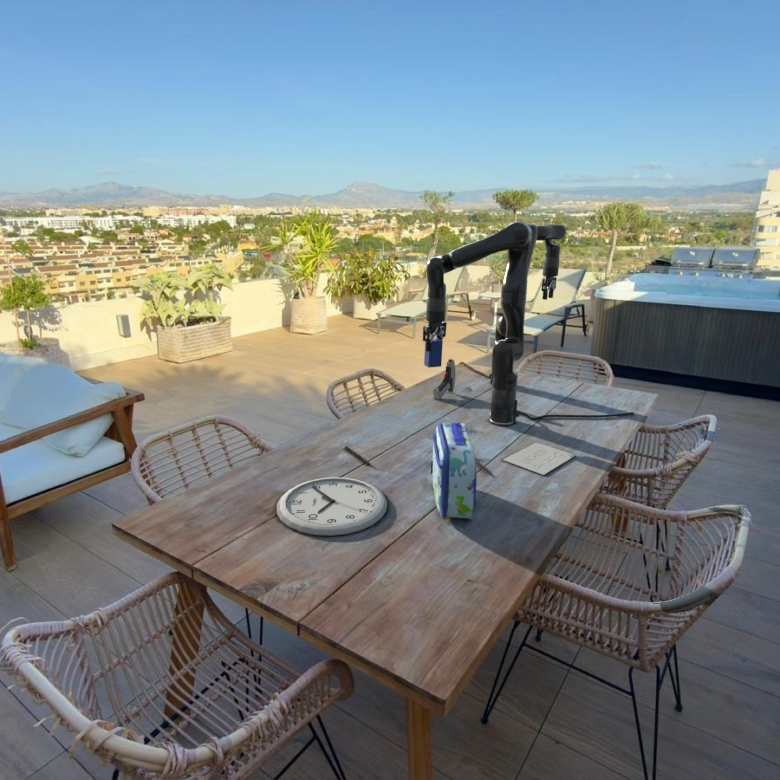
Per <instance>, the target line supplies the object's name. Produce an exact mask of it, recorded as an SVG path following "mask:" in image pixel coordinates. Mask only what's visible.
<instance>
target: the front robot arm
mask: <svg viewBox="0 0 780 780" xmlns="http://www.w3.org/2000/svg"><path fill="white" fill-rule="evenodd" d="M527 224H528V223H526V222H522V221H515V222H512V223H511V222H510V224H508V225H507V226H505V227H504V228H502V229H501V230H499V231H497V232H495V233H493V234H492V235H489V236H487V237H485V238H482V239H479V240H477V241H474V242H473V241H472V242H471V243H468V244H465V245H463V246H460V247H458V248H456V249H454V250H452V251H451V252H447V253H444V254H442V255H438V256H433V257H431V258H430V259H429V260H428V262H427V264H426V279H427V300H426V309H425V321H426V322H427V323H428V324H427V325H424V326H423V328H422V341H423V342H424V343H425V342H426V351H427V352H431V351H432V343H431V342H432V340H433V339H435V338H438V339H440V340H444V338H445V337H446V336H447V324H448V323H447V322H445V321H446V307H447V299H446V297H447V284H446V283H445V274H448V273H450V272H452V271H454V270H457V269H460V268H463V267H466V266H468V265H471V264H473V263H476V262H478V261H481V260H483V259H485V258H486V257H489V256H491V255H494V254H496V253H500V252H504V251H507V262H506V263H507V264H506V267H505V271H504V274H503V278H502V283H501V288H500V290H501V291H500V308H501V311H502V315H503V314H504V317H505V320H506V337H505V339H504V340H500V341H498V342H496V343H495V342H494V345H493V347H492V350H491V373H493V384H492V388H491V399H490V410H489V422H490V423H491V424H494V425H497V426H511V425H513V424H516V423H517V418H519V417H520V415H521V416H524V417H526V418H527V419H528V420H530V421H537V420H540V419H544V418H611V417H612V418H613V417H622V416H630V415H635V412H634V411H631V412H624V413H614V414H588V415H587V414H543V415H540V416H537V417H531V416H530V415H529V414H527V413H525V412H522V411H520V410H518V399H517V388H518V377H519V376H518V373H517V372H516V371H514V364H513V362H514V363H515V362H517V361H519V360H520V359H522V358H523V355H524V352H525V318H526V317H525V315H526V304H527V294H528V277H527V264H528V256H529V250H530V245H531V240H532V230H531V228H530V227H529V226H528V225H527Z"/></svg>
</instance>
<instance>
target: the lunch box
mask: <svg viewBox="0 0 780 780" xmlns="http://www.w3.org/2000/svg"><path fill="white" fill-rule="evenodd" d="M467 427H468V426H467V424H466V423H461V422H450V423H441V422H439V423H437V424H436V428H435V433H433V435H432V460H431V461H430V465H431V466H430V474H431V475H432V488H433V492H434V501H435V505H436V508H437V511H438V513H439V515H440V517H441V518H442V519H445V520H446V518H458V519H469V520H470V519H472V518H473V517H474V515H475V511H476V501H477V479H478V477H477V476H478V475H477V464H476V461H477V460H476V456H475V449H474V446H473V445H474V444H473V442H472V440H471V438H470V435H469V431H468V428H467ZM475 460H476V461H475Z"/></svg>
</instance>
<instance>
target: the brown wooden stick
mask: <svg viewBox="0 0 780 780" xmlns="http://www.w3.org/2000/svg"><path fill="white" fill-rule="evenodd" d="M344 449H345V450H346V451H348V452H349V453H350V454H352V455H353V456H355V457H356V458H358V459H359V460H361V461H362V462H363V463H364V464H366V465H370V461H368V460H367V459H366V458H364V457H363V456H361V455H360V454H358V453H357V452H356V451H354V450H353V449H352V448H350V447H348V446H347V445H345V446H344Z"/></svg>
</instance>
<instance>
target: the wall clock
mask: <svg viewBox="0 0 780 780" xmlns="http://www.w3.org/2000/svg"><path fill="white" fill-rule="evenodd" d="M387 509H388V500H387V498H386V496H385V494H384V493H383V492H382V491H381V490H380V489H379V488H377V487H376V486H374V485H372V484H371V483H369V482H365V481H362V480H359V479H355V478H349V477H338V476H337V477H335V476H333V477H332V476H331V477H322V478H317V479H312V480H307V481H305V482H302V483H299V484H297V485H295V486H293V487H292V488H290V489H288V490H287V491H286V492H285V493H284V494H283V495H281V496H280V498H279V499H278V502H277V503H276V515H277V517H278V518H279V520H280V521H281V522H282V523H283V524H285V525H286V526H287V527H288V528H290V529H293V530H295V531H297V532H299V533H303V534H308V535H312V536H327V537H328V536H329V537H331V536H332V537H333V536H342V535H350V534H352V533H356V532H361V531H363V530H366V529H368V528H369V527H372V526H373V525H375V524H376V523H378V522H379V521H380V520H381V519H382V518H383V517H384V516H385V514H386V512H387Z"/></svg>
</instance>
